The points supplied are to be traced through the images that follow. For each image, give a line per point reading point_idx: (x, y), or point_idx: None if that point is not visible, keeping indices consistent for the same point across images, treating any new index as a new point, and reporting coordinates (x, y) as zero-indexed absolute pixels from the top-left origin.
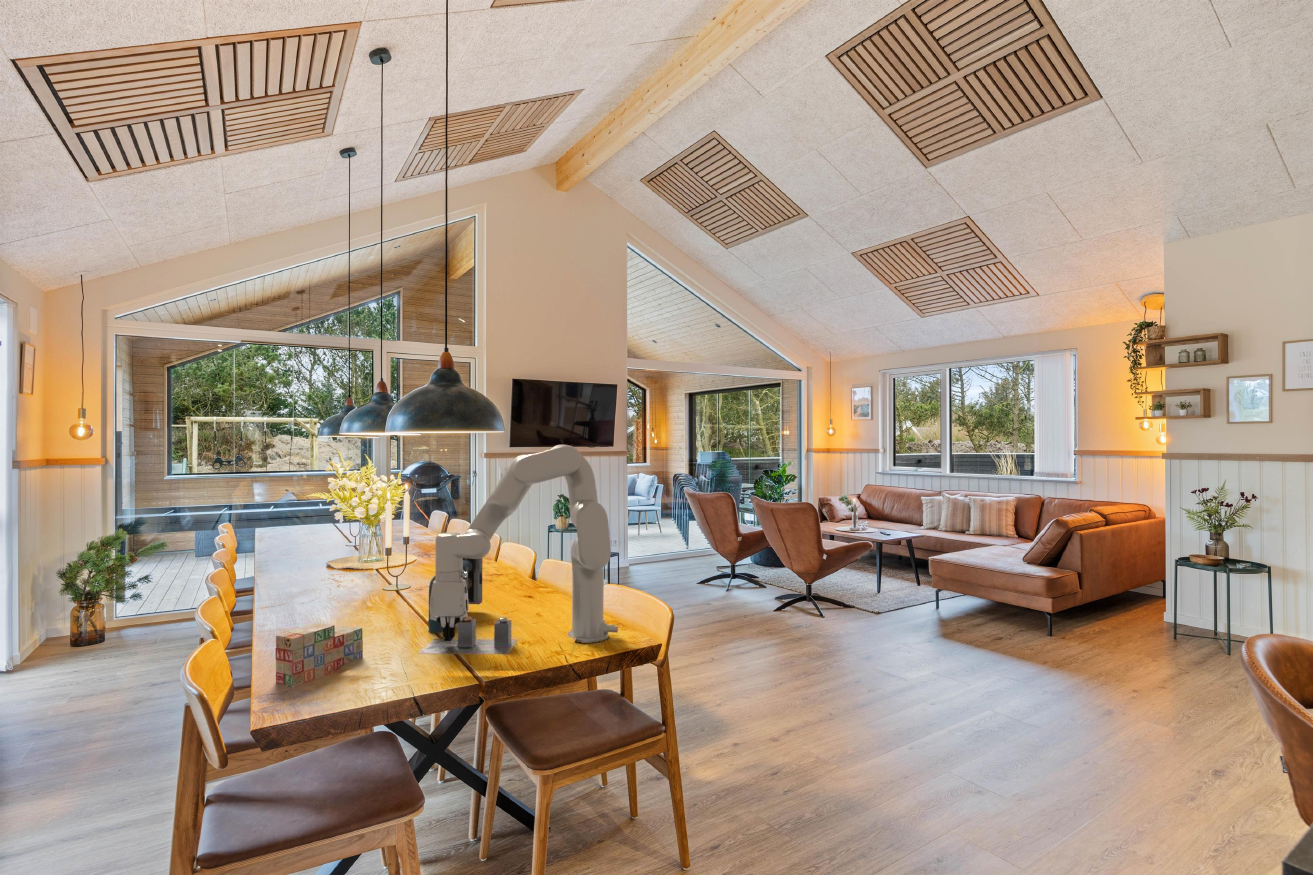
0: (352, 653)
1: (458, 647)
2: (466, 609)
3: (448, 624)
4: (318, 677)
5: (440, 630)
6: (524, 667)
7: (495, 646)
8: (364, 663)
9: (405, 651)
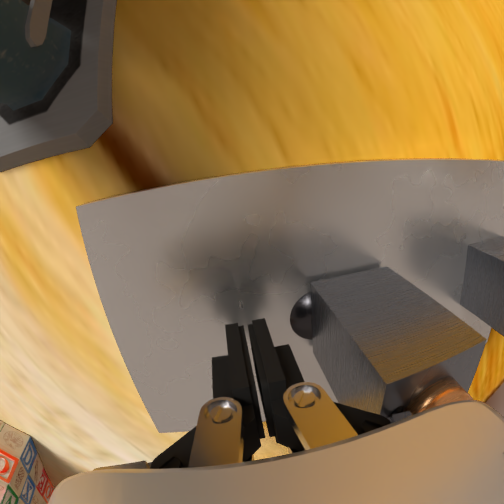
0: (29, 476)
1: (310, 338)
2: (481, 410)
3: (255, 419)
4: None
5: (49, 67)
6: (494, 373)
7: (467, 305)
8: (50, 449)
9: (55, 357)
